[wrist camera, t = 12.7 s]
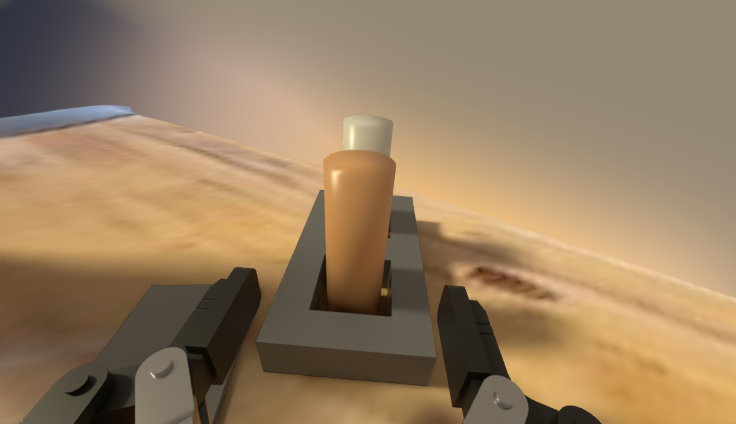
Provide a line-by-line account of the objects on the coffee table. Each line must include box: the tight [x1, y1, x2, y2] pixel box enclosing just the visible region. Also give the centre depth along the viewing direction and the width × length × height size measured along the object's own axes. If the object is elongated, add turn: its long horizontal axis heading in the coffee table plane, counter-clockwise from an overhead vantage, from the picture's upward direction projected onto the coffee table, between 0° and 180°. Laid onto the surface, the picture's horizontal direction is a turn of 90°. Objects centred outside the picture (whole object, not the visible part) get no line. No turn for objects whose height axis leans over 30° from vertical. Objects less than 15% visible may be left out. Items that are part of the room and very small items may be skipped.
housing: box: [256, 115, 437, 386], centre depth 22 cm, size 10×18×12 cm, turn 177°
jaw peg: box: [324, 150, 396, 316], centre depth 18 cm, size 4×4×12 cm
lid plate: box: [94, 284, 240, 424], centre depth 18 cm, size 8×10×1 cm
